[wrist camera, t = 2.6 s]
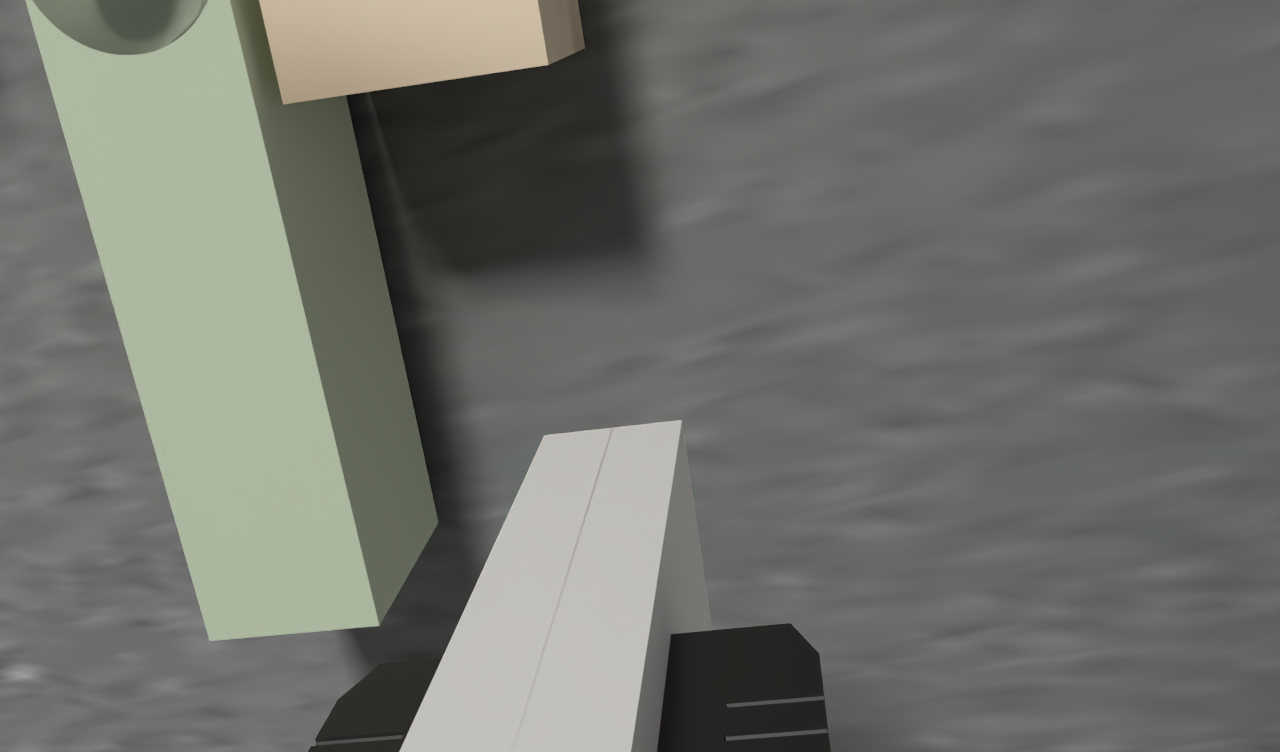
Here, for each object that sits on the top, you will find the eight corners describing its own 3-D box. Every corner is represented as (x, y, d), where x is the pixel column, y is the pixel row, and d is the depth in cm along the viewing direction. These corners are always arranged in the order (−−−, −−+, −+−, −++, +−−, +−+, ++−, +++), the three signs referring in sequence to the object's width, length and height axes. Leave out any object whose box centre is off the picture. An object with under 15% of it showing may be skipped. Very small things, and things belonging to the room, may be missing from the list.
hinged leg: (123, -130, 21) (-55, -158, 16) (291, -160, 20) (157, -197, 16) (293, 537, 24) (188, 666, 20) (438, 522, 24) (365, 651, 19)
